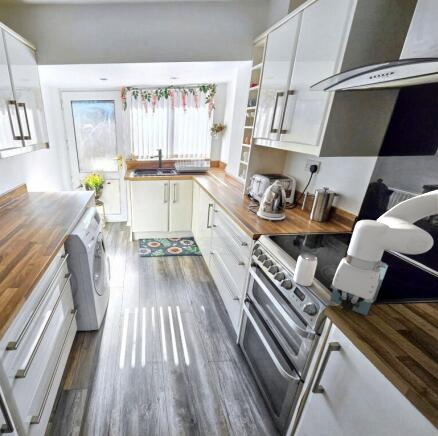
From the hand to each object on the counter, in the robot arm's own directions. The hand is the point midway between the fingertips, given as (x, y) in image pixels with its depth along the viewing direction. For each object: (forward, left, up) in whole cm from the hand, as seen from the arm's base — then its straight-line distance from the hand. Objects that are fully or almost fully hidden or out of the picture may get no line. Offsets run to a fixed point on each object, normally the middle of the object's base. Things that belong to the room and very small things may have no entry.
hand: (345, 309), depth 78 cm
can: (+4, -20, -4) cm, 21 cm away
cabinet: (-16, -19, -4) cm, 25 cm away
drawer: (-6, -8, -3) cm, 10 cm away
